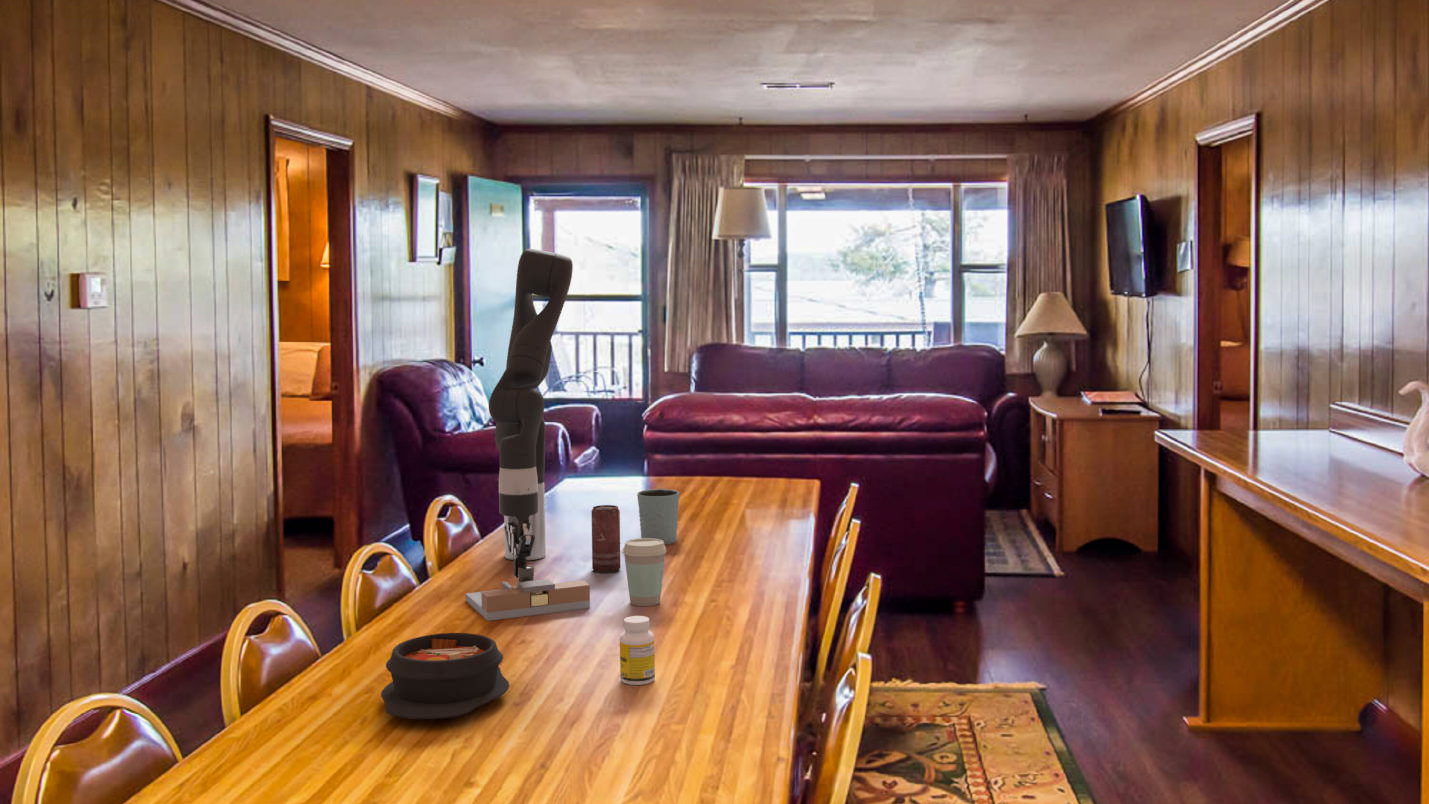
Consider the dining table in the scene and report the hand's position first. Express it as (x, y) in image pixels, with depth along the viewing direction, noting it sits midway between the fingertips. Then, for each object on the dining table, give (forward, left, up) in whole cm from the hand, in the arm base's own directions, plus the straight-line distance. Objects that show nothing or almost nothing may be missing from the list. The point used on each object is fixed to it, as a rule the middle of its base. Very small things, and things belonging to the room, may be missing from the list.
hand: (520, 576), depth 237 cm
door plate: (+4, 0, -5) cm, 6 cm away
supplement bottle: (+56, +2, -5) cm, 56 cm away
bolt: (+7, 0, -3) cm, 8 cm away
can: (-16, +24, -5) cm, 29 cm away
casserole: (+52, -27, -5) cm, 59 cm away
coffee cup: (+13, +21, -5) cm, 25 cm away
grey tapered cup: (-39, +46, -5) cm, 61 cm away
